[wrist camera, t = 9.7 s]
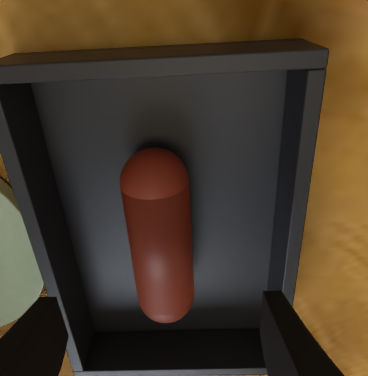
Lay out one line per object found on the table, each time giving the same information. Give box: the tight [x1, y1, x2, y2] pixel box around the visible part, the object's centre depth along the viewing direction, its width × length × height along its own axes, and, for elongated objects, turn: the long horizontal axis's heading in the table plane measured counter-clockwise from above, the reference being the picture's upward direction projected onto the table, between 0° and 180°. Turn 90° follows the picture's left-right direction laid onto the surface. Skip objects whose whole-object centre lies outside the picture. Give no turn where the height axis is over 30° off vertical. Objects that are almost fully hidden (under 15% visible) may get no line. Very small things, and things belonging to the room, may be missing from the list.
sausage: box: [120, 147, 194, 323], centre depth 16 cm, size 9×3×3 cm, turn 3°
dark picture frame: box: [0, 38, 329, 376], centre depth 16 cm, size 16×11×3 cm
